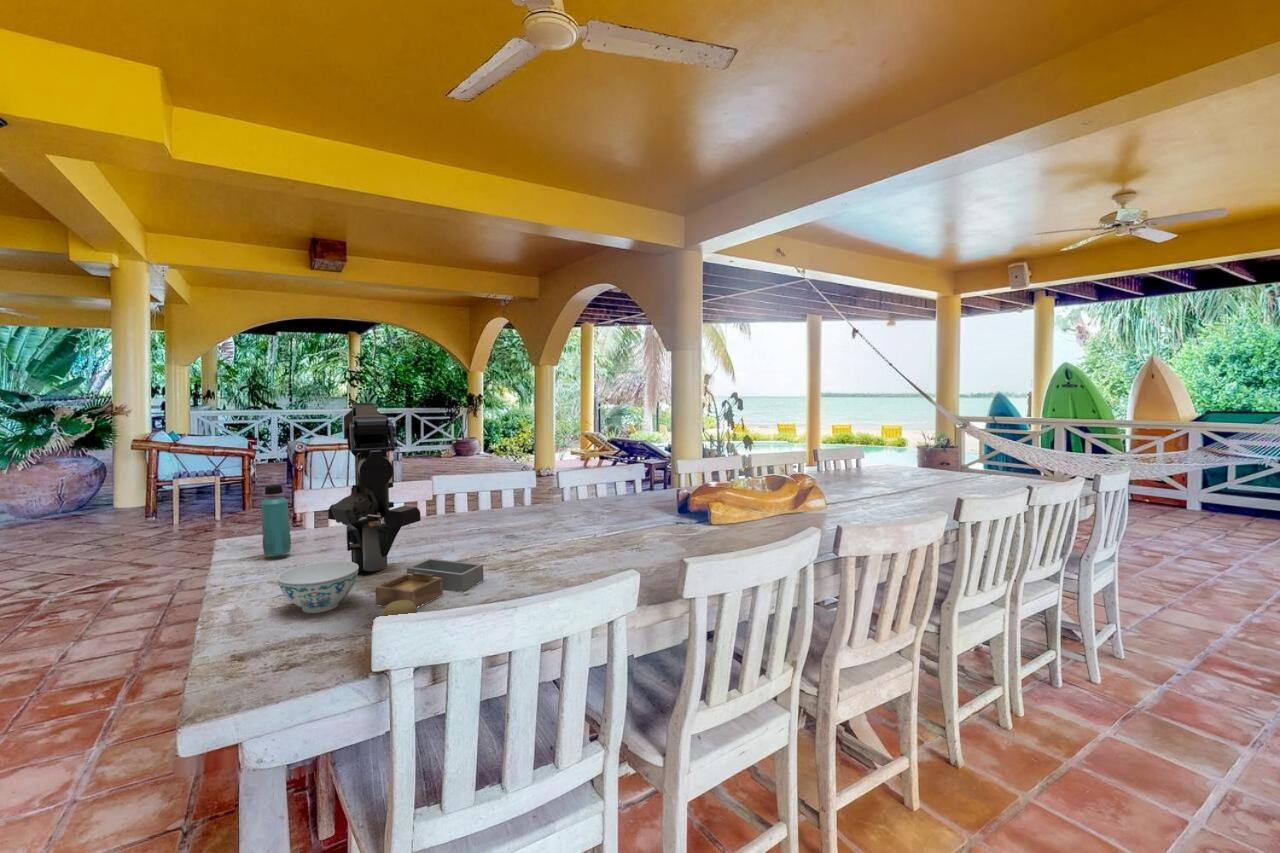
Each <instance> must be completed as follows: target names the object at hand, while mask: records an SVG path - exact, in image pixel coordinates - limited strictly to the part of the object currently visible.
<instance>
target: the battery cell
mask: <svg viewBox="0 0 1280 853" xmlns="http://www.w3.org/2000/svg"><path fill="white" fill-rule="evenodd" d="M380 524H382V522H381V523H380V522H379V521H373V522H369V524H367V525H364V526H362V538H363V566H364V570H365V571H376V572H379V571H381V570H385V569H387V568H388V555H387V556H385V557H382V554H381V546H380V533H379V531H378V530H377V529H376V528H375V527H374V526H377V525H380ZM378 570H379V571H378Z"/></svg>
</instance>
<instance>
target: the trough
mask: <svg viewBox="0 0 1280 853" xmlns="http://www.w3.org/2000/svg"><path fill="white" fill-rule="evenodd" d="M415 572H418V573H426V574H434V577H439V578H442V585H443V590H444V589H446V590H445V591H451V590H455V591H454V592H458V591H464V592H466V591H467V589H468V590H469V588H470V587H471V588H473V587H474V585H475V586H477V585H478V584H477V583H479V582H481V581H483V580H484V579H485V578H484V564H482V563H481V564H479V563H471V562H462V561H454V560H447V559H438V558H428V559H425V560H423V561H420V562H418V563H415V564H412V565H411V566H408V567H406V574H407V573H408V574H413V573H415ZM483 582H484V581H483ZM481 583H482V582H481ZM476 584H477V585H476ZM479 584H480V583H479ZM472 586H473V587H472ZM471 588H470V589H471ZM465 590H466V591H465Z"/></svg>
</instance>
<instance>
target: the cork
mask: <svg viewBox="0 0 1280 853" xmlns="http://www.w3.org/2000/svg"><path fill="white" fill-rule="evenodd" d="M408 613H417V614H418V609H417V607H416V605H415V604H414V602H412V601H409V600H399V601H394V602H392V603H390V604H388V605H387V606H386V607H384V609H383V612H382V617H383V616H388V615H398V614H408ZM418 669H420V667H419V668H415V670H414V672H416V671H417V670H418ZM383 674H384V675H385V676H388V675H387V673H383Z"/></svg>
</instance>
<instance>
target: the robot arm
mask: <svg viewBox="0 0 1280 853" xmlns="http://www.w3.org/2000/svg"><path fill="white" fill-rule="evenodd" d="M351 406H352V407H351V410H350V411H349V412H347V413H346V414H345V415H344V416H343V439H344V440H347V441H346V442H347V448H348V450H349V451H350V452H351V454H352V455H353V456H354V480H355V482H354V483H355V484H354V485H353V484H352V486H351V488H350V490H351V491H350V494H349V495H347V496H345V497H344V498H342V499H340V500H339V501H338V502H336V503H334V504H331V505H330V507H329V508H328V509H327V520H334V521H335V522H336V523H337V524H338V523H339V524H340V523H341V524H342V525H344V526H346V549H347V550H346V551H348V552H350V551H351V562H353V563H356V564H357V565H358V566H359V569H358V574H357V575H361V576H368V575H371V574H373V573H376V572H379V571H380V570H378V571H365V570H364V566H363V538H362V526H364V525H367V524H369V522H373V521H379V522H380V523H382V524H380V525H377V526H374V527H375V528H376V529H377V530H378V531H379V533H380V546H381V554H382V557H385V556H387V557H388V555H389V553H390V550H391V548H392V546H393V544H394V542H395V540H396V537H397V536H398V533H399V532H400V530H401V528H402V527H405V526H408V525H411V524H414V523H417V522H421V518H422V517H421V510H420V509H419V508H418V507H417V506H407V505H402V506H399V507H395V502H394V501H390V492H389V491H390V488H394V482H393V481H391V479H392V478H393V475H394V467H393V464H392V463H391V461H390V460H389V459H388V458H389V455H388V453H387V452H395V451H396V450H395V449H396V448H395V447H398V439H397V438H398V437H397V431H396V427H395V425H394V422H392V421H390V420H389V417H388V416H387V415H384V414H383V415H382V413H380V412H379V411H378V405H377V403H374V402H355V403H353V404H352V405H351ZM394 507H395V508H394Z"/></svg>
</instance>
